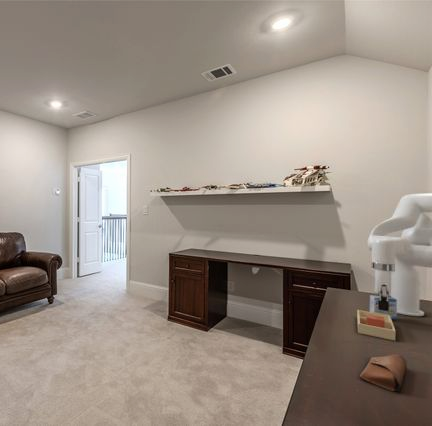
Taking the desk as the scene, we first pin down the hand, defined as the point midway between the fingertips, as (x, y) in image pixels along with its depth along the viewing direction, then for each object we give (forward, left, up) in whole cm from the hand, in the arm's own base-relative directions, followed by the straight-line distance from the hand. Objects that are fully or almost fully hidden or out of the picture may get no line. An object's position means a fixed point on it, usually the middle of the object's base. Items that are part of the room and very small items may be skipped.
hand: (382, 307), depth 130 cm
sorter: (+17, -3, -5) cm, 18 cm away
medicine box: (0, 0, -4) cm, 4 cm away
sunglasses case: (+59, -3, -5) cm, 60 cm away
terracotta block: (+22, -4, -4) cm, 22 cm away
